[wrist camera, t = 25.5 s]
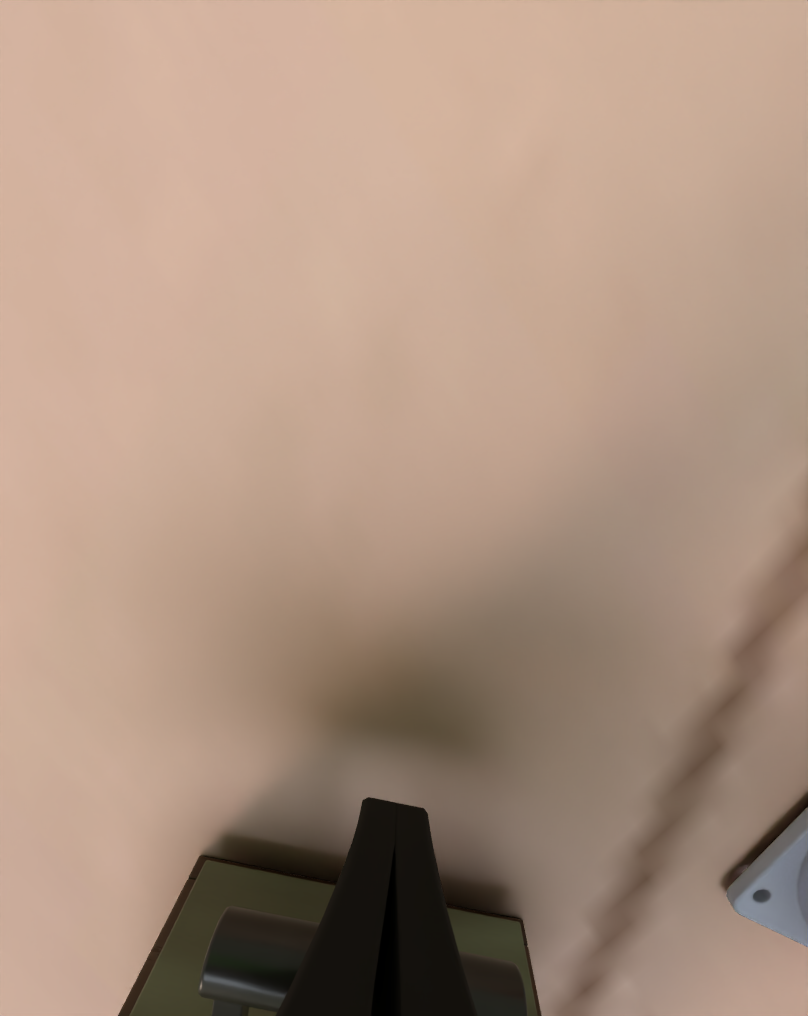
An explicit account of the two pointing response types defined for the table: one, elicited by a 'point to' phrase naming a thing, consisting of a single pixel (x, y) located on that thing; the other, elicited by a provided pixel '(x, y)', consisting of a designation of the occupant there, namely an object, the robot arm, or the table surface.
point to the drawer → (297, 949)
